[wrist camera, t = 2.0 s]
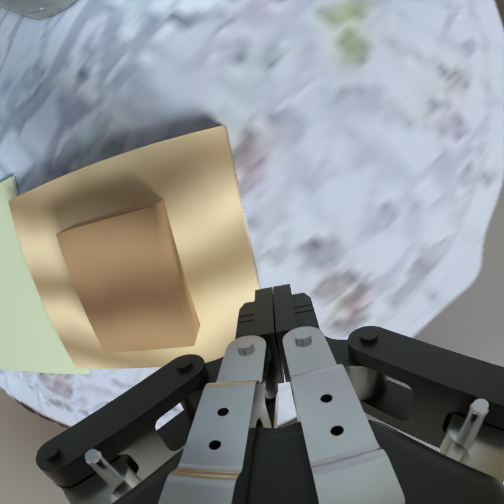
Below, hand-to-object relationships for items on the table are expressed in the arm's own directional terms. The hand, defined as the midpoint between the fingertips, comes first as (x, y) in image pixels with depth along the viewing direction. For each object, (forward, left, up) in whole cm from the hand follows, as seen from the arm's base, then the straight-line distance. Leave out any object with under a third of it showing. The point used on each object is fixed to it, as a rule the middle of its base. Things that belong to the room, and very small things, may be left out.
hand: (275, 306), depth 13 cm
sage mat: (0, -29, -8) cm, 30 cm away
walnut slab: (0, -9, -6) cm, 11 cm away
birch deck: (0, -10, -8) cm, 13 cm away
